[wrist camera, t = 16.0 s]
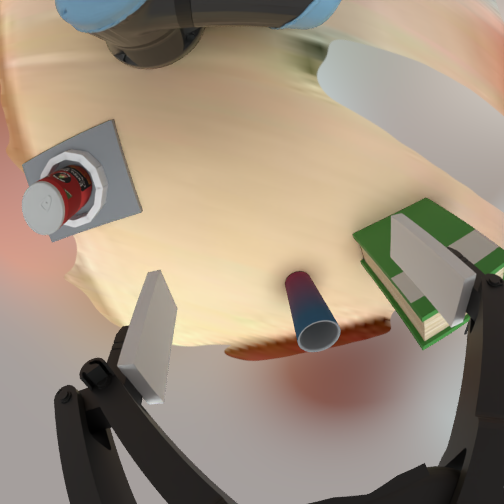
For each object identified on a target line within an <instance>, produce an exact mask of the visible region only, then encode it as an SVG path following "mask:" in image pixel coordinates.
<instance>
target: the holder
mask: <svg viewBox="0 0 504 504" xmlns="http://www.w3.org/2000/svg"><path fill="white" fill-rule="evenodd" d="M69 165H76V166H80V167H82V168H83V169H84V170H86V172H87V173H88V174H89V176H90V179H91V182H92V191H91V195H90V198H89V200H88V202H87V203H86V204H85V205H84V206H83V207H82V208H81V209H80V210H79V211H78V212H77V213H75V214H74V215H73V216H72V217H71V218H70V219H69V220H68V221H67V222H66V223H65V224H64V225H62V226H61V227H60V228H59V229H58V230H57V231H55V232H54V233H52V234H50V235H49V236H50V238H51V241H52V242H55V241H57V240H60V239H63V238H66V237H68V236H71V235H74V234H77V233H80V232H83V231H86V230H88V229H91V228H94V227H97V226H100V225H103V224H106V223H110V222H113V221H116V220H119V219H122V218H125V217H128V216H132V215H135V214H138V213H141V212H142V211H143V210H142V207H141V204H140V202H139V199H138V196H137V193H136V190H135V187H134V184H133V181H132V178H131V175H130V172H129V169H128V166H127V163H126V160H125V156H124V153H123V150H122V147H121V143H120V140H119V136H118V133H117V129H116V126H115V122H114V119H113V120H110V121H107V122H105V123H103V124H100V125H98V126H96V127H94V128H91V129H89V130H87V131H85V132H83V133H80V134H78V135H76V136H74V137H72V138H70V139H68V140H66V141H64V142H62V143H60V144H58V145H56V146H54V147H53V148H51V149H49V150H47V151H45V152H43V153H42V154H40V155H38V156H36V157H35V158H33V159H31V160H29V161H28V162H26V163H24V164H23V165H22V166H23V169H24V173H25V176H26V179H27V181H28V184H29V187H30V186H31V185H32V184H33V183H35V182H37V181H38V180H40V179H42V178H44V177H46V176H48V175H50V174H52V173H54V172H56V171H58V170H60V169H62V168H64V167H66V166H69Z"/></svg>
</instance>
